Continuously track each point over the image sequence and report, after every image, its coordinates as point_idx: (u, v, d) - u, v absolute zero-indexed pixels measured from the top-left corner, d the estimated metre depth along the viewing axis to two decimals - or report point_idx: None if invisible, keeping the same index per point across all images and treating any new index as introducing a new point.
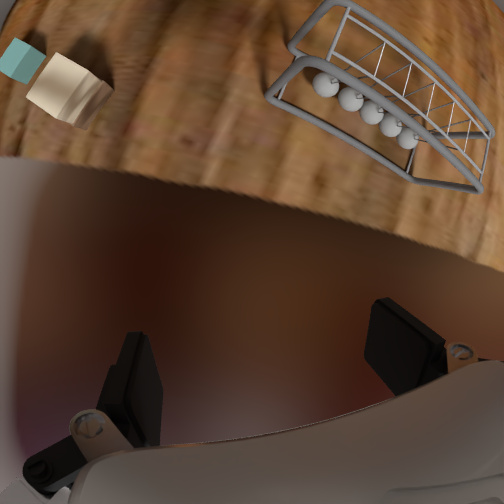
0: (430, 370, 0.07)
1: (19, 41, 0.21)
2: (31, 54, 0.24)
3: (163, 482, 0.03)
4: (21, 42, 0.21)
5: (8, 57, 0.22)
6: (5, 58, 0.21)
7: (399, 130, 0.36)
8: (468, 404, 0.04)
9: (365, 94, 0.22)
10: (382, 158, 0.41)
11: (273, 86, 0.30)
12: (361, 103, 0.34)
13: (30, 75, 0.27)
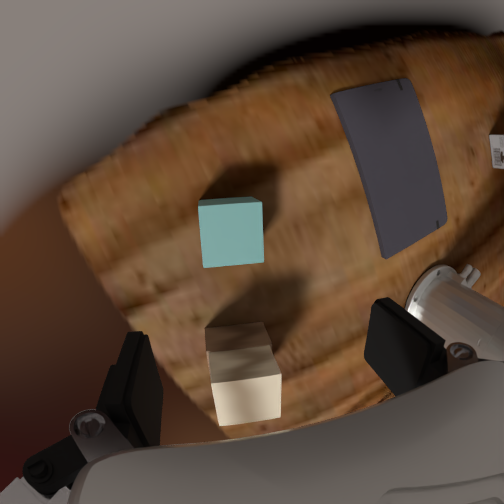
0: (430, 370, 0.07)
1: (260, 223, 0.25)
2: None
3: (163, 482, 0.03)
4: (260, 230, 0.25)
5: (227, 225, 0.25)
6: (222, 220, 0.25)
7: None
8: (468, 404, 0.04)
9: None
10: None
11: None
12: None
13: None
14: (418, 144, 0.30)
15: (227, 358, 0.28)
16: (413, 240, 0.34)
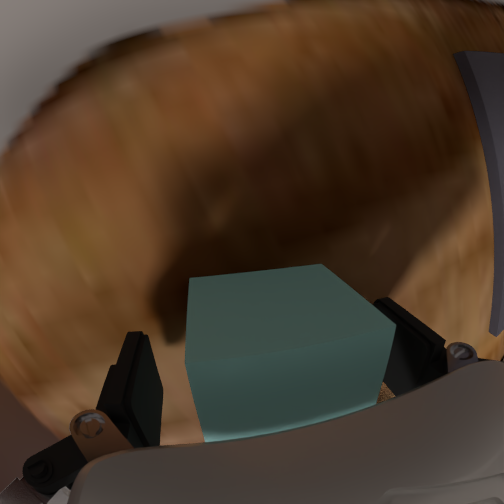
0: (430, 370, 0.07)
1: (377, 378, 0.07)
2: None
3: (163, 482, 0.03)
4: (373, 393, 0.08)
5: (286, 402, 0.07)
6: (271, 393, 0.07)
7: None
8: (468, 404, 0.04)
9: None
10: None
11: None
12: None
13: None
14: None
15: None
16: None
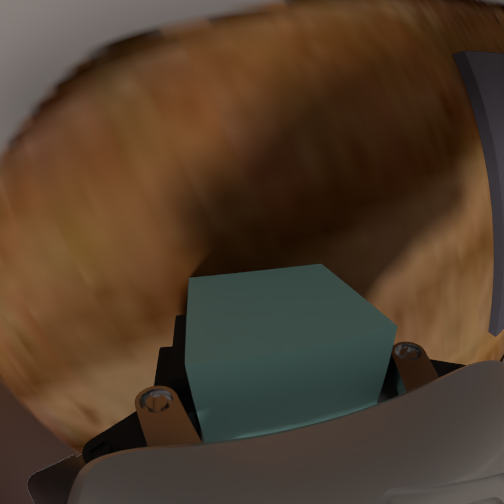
0: None
1: (378, 379, 0.07)
2: None
3: (163, 482, 0.03)
4: (374, 394, 0.08)
5: (286, 404, 0.07)
6: (272, 394, 0.07)
7: None
8: (468, 404, 0.04)
9: None
10: None
11: None
12: None
13: None
14: None
15: None
16: None
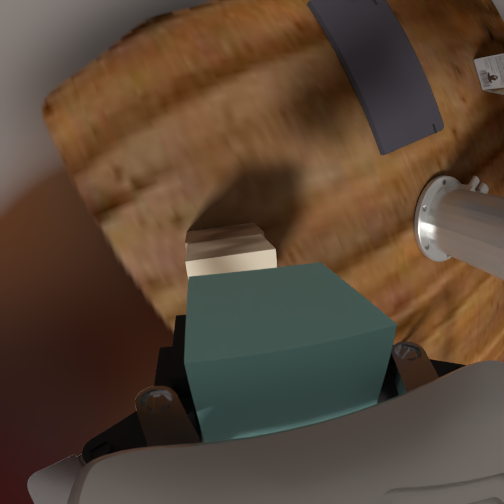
0: None
1: (378, 377, 0.07)
2: None
3: (163, 482, 0.03)
4: (374, 393, 0.08)
5: (286, 402, 0.07)
6: (271, 393, 0.07)
7: None
8: (468, 404, 0.04)
9: None
10: None
11: None
12: None
13: None
14: (400, 49, 0.26)
15: (209, 245, 0.23)
16: (411, 139, 0.30)
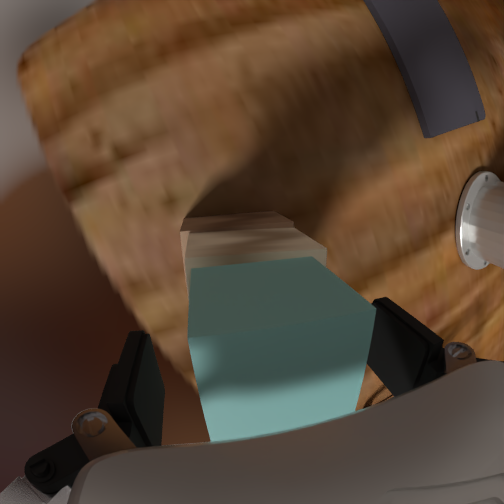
0: (428, 370, 0.07)
1: (361, 358, 0.08)
2: None
3: (163, 482, 0.03)
4: (358, 374, 0.09)
5: (277, 378, 0.08)
6: (263, 368, 0.08)
7: None
8: (468, 404, 0.04)
9: None
10: None
11: None
12: None
13: None
14: (440, 26, 0.19)
15: (221, 236, 0.16)
16: (456, 124, 0.22)
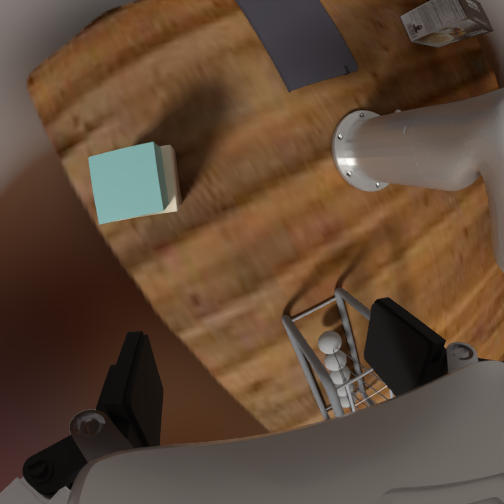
0: (430, 370, 0.07)
1: (153, 165, 0.20)
2: None
3: (163, 482, 0.03)
4: (154, 174, 0.20)
5: (118, 173, 0.20)
6: (112, 167, 0.20)
7: (345, 396, 0.45)
8: (468, 404, 0.04)
9: (335, 415, 0.29)
10: (318, 395, 0.49)
11: (294, 334, 0.37)
12: (338, 370, 0.42)
13: None
14: (310, 9, 0.31)
15: None
16: (320, 78, 0.34)
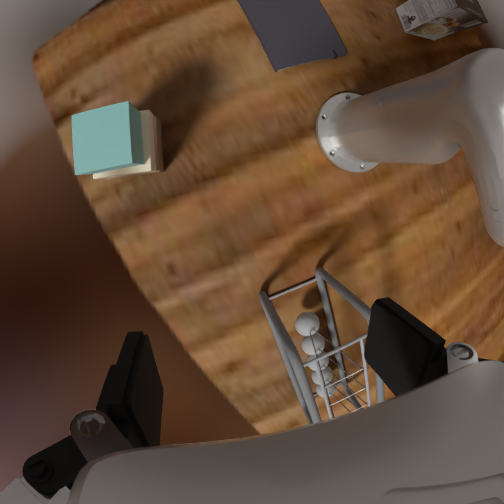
0: (430, 370, 0.07)
1: (126, 122, 0.20)
2: (125, 165, 0.23)
3: (163, 482, 0.03)
4: (127, 129, 0.21)
5: (95, 128, 0.20)
6: (91, 124, 0.20)
7: None
8: (468, 404, 0.04)
9: (303, 396, 0.29)
10: (296, 383, 0.49)
11: (267, 309, 0.37)
12: (315, 354, 0.42)
13: None
14: None
15: None
16: (306, 60, 0.34)
